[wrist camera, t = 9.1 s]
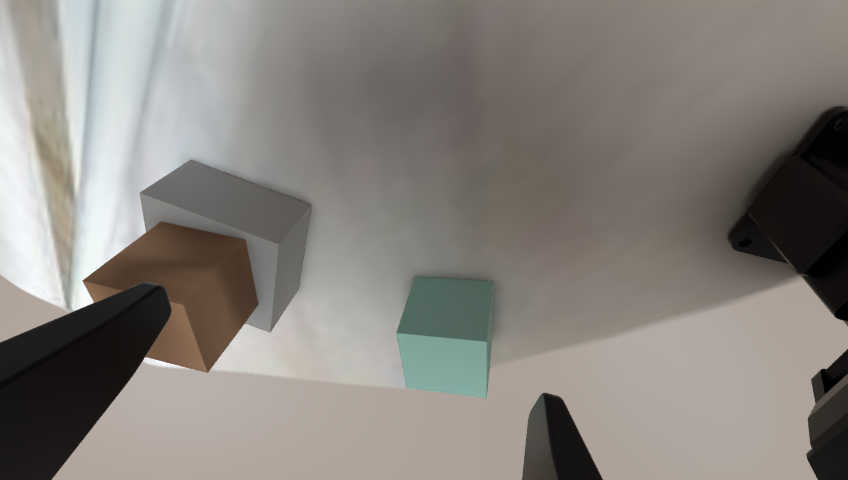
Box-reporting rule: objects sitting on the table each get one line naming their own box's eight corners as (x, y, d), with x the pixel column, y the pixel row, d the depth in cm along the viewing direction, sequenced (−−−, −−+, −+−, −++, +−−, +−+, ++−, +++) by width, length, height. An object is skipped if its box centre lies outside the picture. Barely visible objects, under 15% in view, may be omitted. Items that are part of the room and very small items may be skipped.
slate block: (313, 202, 23) (278, 244, 20) (300, 286, 27) (270, 332, 24) (194, 157, 23) (139, 192, 19) (199, 249, 27) (155, 290, 24)
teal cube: (493, 280, 23) (486, 341, 20) (492, 334, 26) (486, 398, 22) (415, 275, 24) (396, 333, 21) (422, 328, 27) (406, 387, 23)
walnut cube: (245, 239, 20) (183, 305, 16) (258, 304, 23) (207, 372, 19) (160, 221, 20) (82, 280, 17) (183, 287, 23) (120, 350, 19)
